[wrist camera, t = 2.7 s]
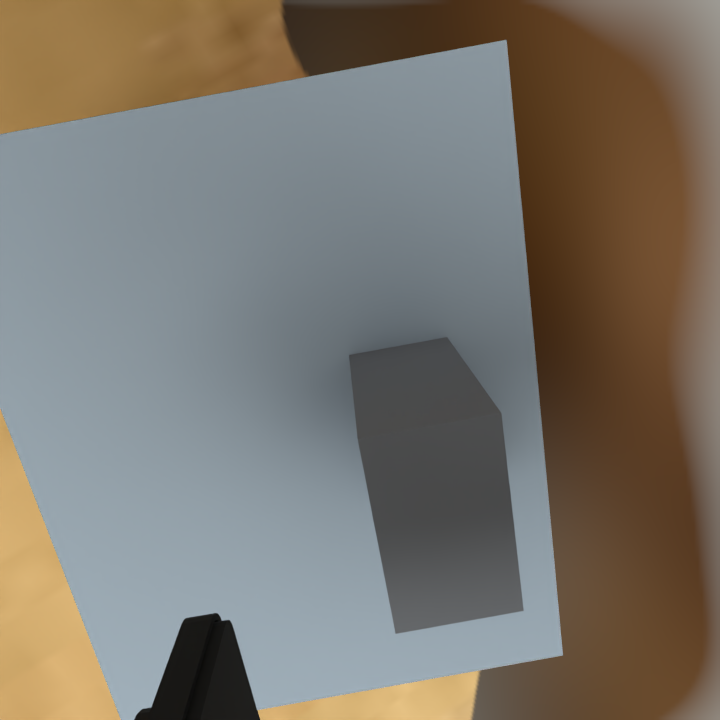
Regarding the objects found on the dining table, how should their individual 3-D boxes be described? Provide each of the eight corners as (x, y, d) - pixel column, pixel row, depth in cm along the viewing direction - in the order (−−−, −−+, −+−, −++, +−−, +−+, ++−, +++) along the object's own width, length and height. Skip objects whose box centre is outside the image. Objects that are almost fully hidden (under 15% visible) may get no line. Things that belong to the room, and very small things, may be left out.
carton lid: (-85, 153, 16) (-343, 141, 10) (500, 44, 16) (607, -37, 10) (131, 719, 22) (54, 931, 16) (556, 642, 22) (645, 826, 16)
